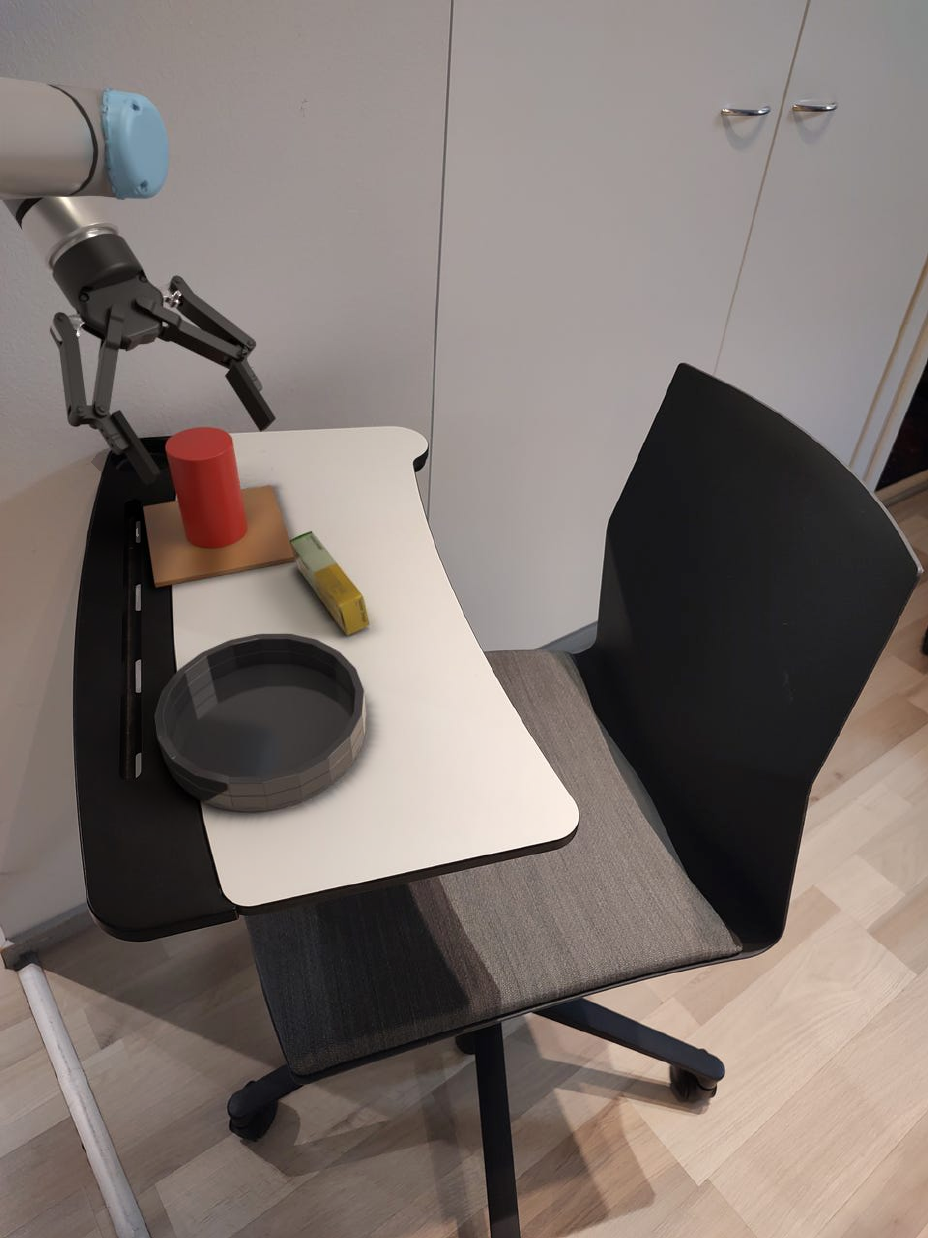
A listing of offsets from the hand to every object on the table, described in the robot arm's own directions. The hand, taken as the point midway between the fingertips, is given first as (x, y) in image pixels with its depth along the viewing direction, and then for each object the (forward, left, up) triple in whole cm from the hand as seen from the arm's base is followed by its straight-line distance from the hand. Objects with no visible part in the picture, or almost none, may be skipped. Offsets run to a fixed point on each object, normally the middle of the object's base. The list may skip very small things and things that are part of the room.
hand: (213, 451), depth 85 cm
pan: (-1, -27, -11) cm, 29 cm away
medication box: (+8, -12, -11) cm, 18 cm away
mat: (-1, +2, -11) cm, 11 cm away
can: (-1, +2, -11) cm, 11 cm away
